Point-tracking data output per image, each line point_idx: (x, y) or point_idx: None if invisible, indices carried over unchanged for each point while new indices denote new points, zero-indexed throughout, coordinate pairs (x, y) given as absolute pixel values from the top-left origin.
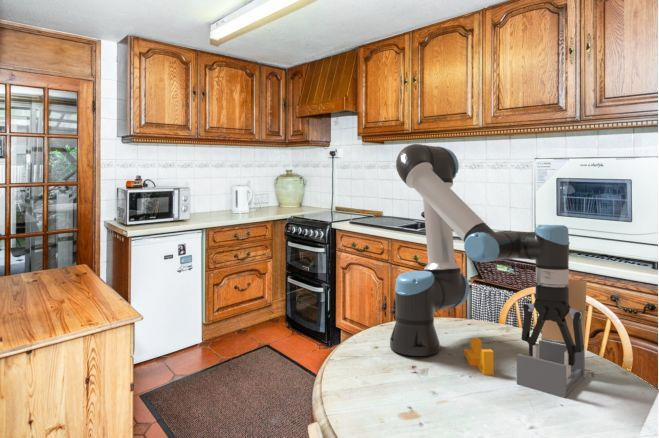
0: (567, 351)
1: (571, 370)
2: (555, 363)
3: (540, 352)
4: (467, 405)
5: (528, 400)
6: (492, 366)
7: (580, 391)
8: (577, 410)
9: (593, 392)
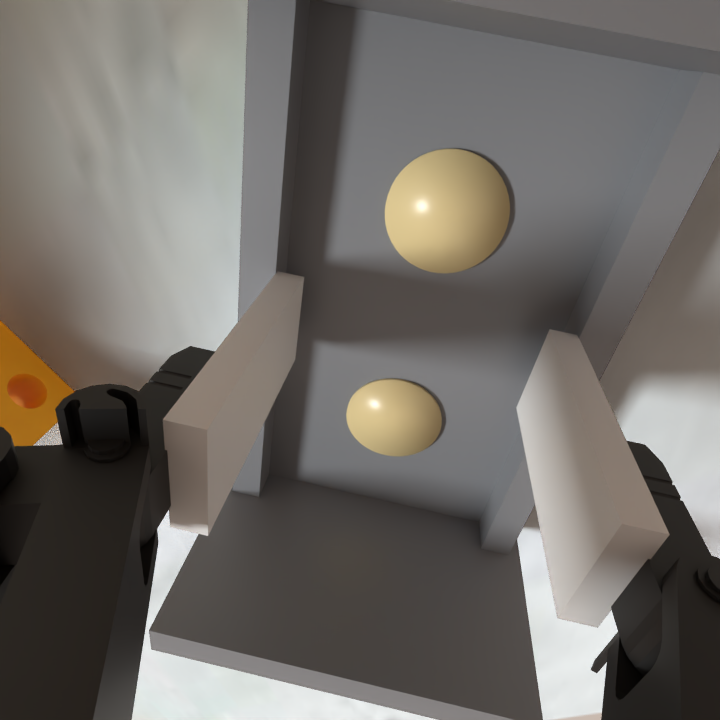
0: (606, 576)
1: (619, 59)
2: (457, 717)
3: None
4: (179, 675)
5: None
6: (38, 439)
7: (614, 405)
8: (553, 611)
9: (712, 382)
